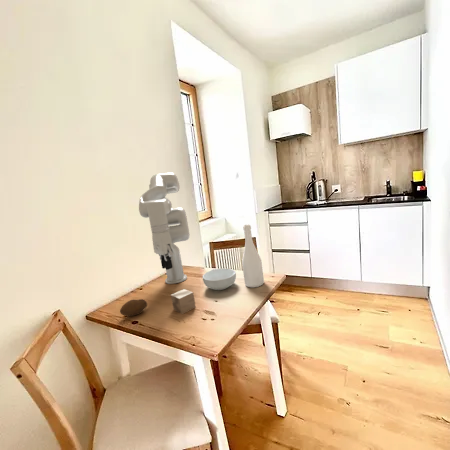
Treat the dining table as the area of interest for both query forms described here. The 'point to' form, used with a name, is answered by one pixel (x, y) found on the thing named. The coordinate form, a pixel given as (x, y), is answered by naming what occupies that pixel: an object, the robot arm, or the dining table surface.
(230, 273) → the cereal bowl
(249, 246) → the wine bottle
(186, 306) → the cube
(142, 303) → the potato
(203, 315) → the dining table surface
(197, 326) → the dining table surface
